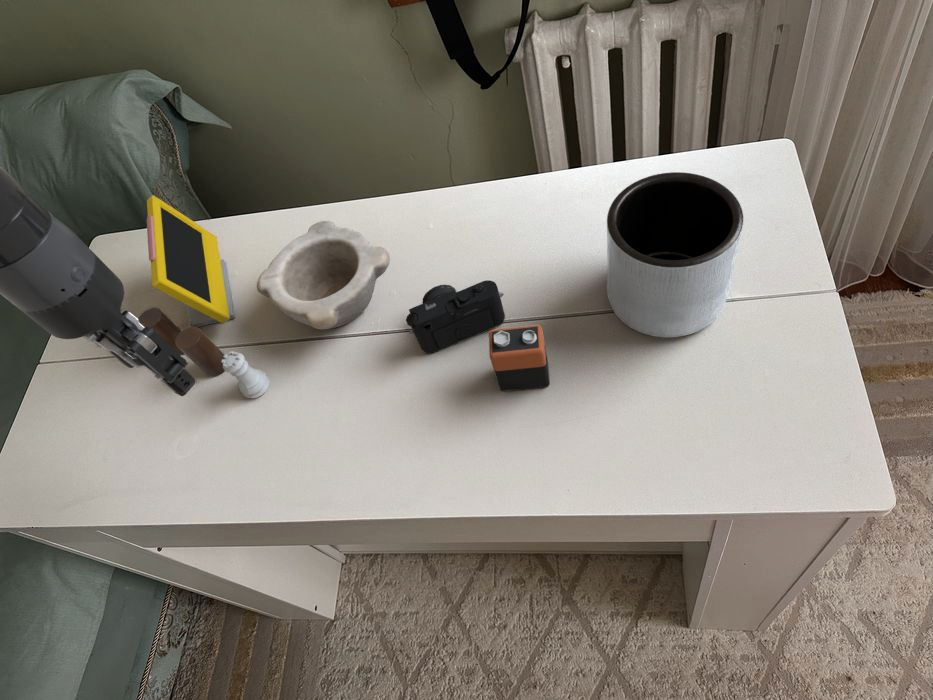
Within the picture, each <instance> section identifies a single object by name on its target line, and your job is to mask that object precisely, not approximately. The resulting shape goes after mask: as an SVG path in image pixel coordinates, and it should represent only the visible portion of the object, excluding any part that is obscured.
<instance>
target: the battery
mask: <svg viewBox="0 0 933 700" xmlns="http://www.w3.org/2000/svg"><path fill="white" fill-rule="evenodd" d="M545 342H546V341H545V337H544V331H543V327H542V325H540V324H532V325H524V326H514V327H504V328H496V329H490V330H489V332H488V352H489V355H488V356H489V360H490V363H491V366H492V369H493V373H494V375H495V378H496V382H497V385H498V388H499V390H500V391H501V392H508V391H519V390H529V389H541V388H548V387H549V386H550V383H551V382H550V370H549V359H548V354H547V348H546V343H545Z"/></svg>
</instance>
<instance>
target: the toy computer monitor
mask: <svg viewBox="0 0 933 700" xmlns="http://www.w3.org/2000/svg"><path fill="white" fill-rule="evenodd" d="M146 208H147V209H146V211H147V217H146V232H147V233H146V234H147V235H146V236H147V250H148V260H149V261H150V270H151V271H150V273H151V274H150V275H151V286H152V287H153V288H155V289H157V290H158V291H160V292H162V293H164V294H165V295H168V296H170V297H172V298H174V299H175V300H177V301H179V302H181V303H183V304H185V305H187V306H186V307H187V316H188V324H189V327H190V326H195V327H198V328H199V327H203V326H207V325H211V324H216V323H221V324H223V325H224V324H225V323H227V322H228V321H230V320H232V319H235V318H236V313H235V309H234V301H233V296H232V290H231V289H232V288H231V284H230V279H229V278H230V277H229V272H228V266H227V261H226V260H225V259H224V258H223V259H221V256H220V250H219V243H218V237H217V236H216V235H215V234H213V233H212V232H211V231H209V230H208V229H206V228H204V227H203V226H202V225H200V224H198V223H197V222H195V221H194V220H192V219H191V218H189V217H188V216H186V215H184V214H183V213H181V212H180V211H178V210H177V209H175V208H174V207H172V206H171V205H169V204H168V203H166V202H165V201H163V200H162V199H160V198H159V197H157V196H155V195H150V197H148V198H147V199H146Z"/></svg>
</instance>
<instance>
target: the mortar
mask: <svg viewBox="0 0 933 700" xmlns="http://www.w3.org/2000/svg"><path fill="white" fill-rule="evenodd" d="M390 261H391V258H390V253H389V252H388V251H387V249H386V248H384V247H382V246H373V245H372V244H371V243H370V241H369V240H368V238H366V237H365V236H364V235H363V234H362V233H360V232H358V231H356V230H354V229H351V228H348V227H339V226H336V224H335V223H334V222H333V221H330V220H321V221H319V222H316V223H313V224H312V225H311V226H310V227H309V228H308V230H307V231H306V233H304V234H302V235H300V236H298V237H296V238H294V239H293V240H291V241H290V242H289V243H288V244H287V245H285V246H284V247H283V249H281V250H280V251H279V252H278V253H277V254H276V256H275V257H274V258H273V259H272V260H271V262H270V263H269V265H268V267H267V268H265V270H263V272H261V273H260V275H259V277H258V279H257V283H256V290H257V292H258V293H259V294H260V295H262V296H264V297H265V298H268V299H270V301H271V303H272V304H273V305H274V306H275V307H276V308H277V309H278V310H279V311H280V312H282V313H283V314H284V315H286V316H287V317H289V318H291V319H293V320H294V321H297V322H298V323H301V324H303V325H306V326H310V327H312V328H313V329H317V330H328V329H334V328H340V327H342V326H345V325H347V324H348V323H350V322H352V321H353V320H355V319H356V318H358V317H359V316H360V315H361V314H363V312H364V311H365V310H366V309H367V307H368V306H369V305H370V302H371V300H372V298H373V295H374V291H375V287H376V282H377V279H378V278H380V277H381V276H383V274H385V273H386V271H387V269H388V267H389V266H390Z"/></svg>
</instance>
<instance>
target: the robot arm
mask: <svg viewBox="0 0 933 700" xmlns="http://www.w3.org/2000/svg"><path fill="white" fill-rule="evenodd" d="M0 295H1V296H2V297H4V299H6V300H7V301H8V302H10V303H11V304H12V305H13V306H15V307H16V308H17V309H18V310H20V311H21V312H22V313H24V314H25V315H26V316H27V317H29V318H30V319H31V320H32V321H34V322H35V323H36V324H37V325H38V326H39V327H40V328H42V329H43V330H45V331H46V332H47V333H49V334H50V335H51V336H53V337H55V338H57V339H60V340H75V339H80V338H84V339H85V340H86V341H87V342H89V343H91V344H92V345H94V346H95V347H97V348H100V349H103V350H105V351H107V352H108V353H110V355H112V356H113V357H115V358H116V360H118V361H119V362H120V363H121V364H122V365H124V366H125V367H127V368H129V369H133V368H144V369H145V370H146V371H148V372H149V373H150V374H152V375H153V376H154V378H155V379H157V380H160V381H161V382H162V383H163V384H165V385H166V386H167V387H168V388H169V389H170V390H171V391H172V392H174V394H176V395H178V396H180V397H184V396H186V395H187V394H188V393H189V391H191V389H192V388H193V387H194V386H195V384H196V378H195V377H194V376H193V375H192V374H190V372H188V370H186V367H187V366H188V365H189V363H188V361H187V360H186V359H185V358H184V357H183V356H182V355H181V356H180V355H179V354H178V353H177V352H176V351H175V350H174V349H173V348H171V347H170V346H169V345H168V344H167V343H166V342H165V341H164V340H163V339H162V338H161V337H160V336H159V335H158V334H157V333H156V332H155V330H154V329H152V328H149V327H147V326H146V327H144V326H143V325H141V324H140V323H139V320H138V318H139V317H137V316H135V315H134V314H133V313H131V312H130V311H129V310H127V309H123V310H122V306H123V305H122V304H123V301H124V298H125V287H124V283H123V282H122V280H121V279H120V278H119V277H118V276H117V275H116V273H114V271H113V270H111V268H109V266H107V264H105V262H103V261H102V259H101V258H100V257H98V256H97V254H96V253H95V252H93V250H92V249H90V247H89V246H88V245H87V244H86V243H85V242H84V241H83V240H82V239H81V238H79V236H78V235H77V234H76V233H75V232H74V231H73V230H72V229H71V228H69V227H68V226H67V225H66V224H65V223H63V222H62V221H61V220H59V219H58V218H57V217H56V216H54V215H53V214H52V213H51V212H50V211H49V210H48V209H47V208H46V207H45V206H44V205H43V204H42V203H41V202H40V201H39V200H38V199H37V198H36V197H35V196H34V195H33V194H32V193H31V192H30V191H29V190H28V189H27V188H26V187H25V186H24V185H23V184H22V183H21V182H20V181H19V180H18V179H17V178H15V177H14V175H12V174H11V173H10V172H9V171H7V170H6V169H5V168H4V167H2V166H1V165H0Z"/></svg>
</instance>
